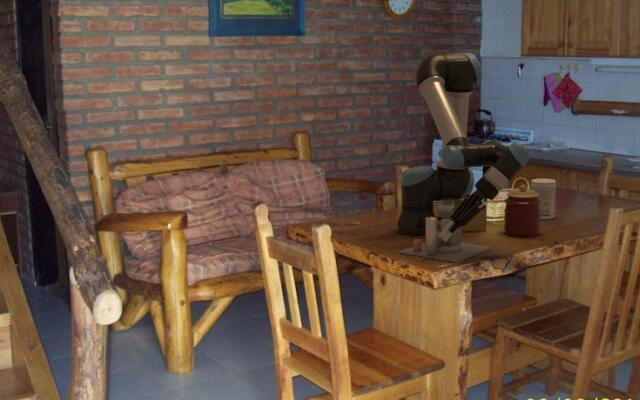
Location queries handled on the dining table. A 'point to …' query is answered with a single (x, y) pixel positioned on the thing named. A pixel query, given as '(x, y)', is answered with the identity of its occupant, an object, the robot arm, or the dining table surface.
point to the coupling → (434, 239)
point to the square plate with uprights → (447, 249)
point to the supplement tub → (546, 196)
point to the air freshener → (445, 209)
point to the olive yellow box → (474, 220)
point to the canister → (522, 212)
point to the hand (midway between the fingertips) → (441, 238)
